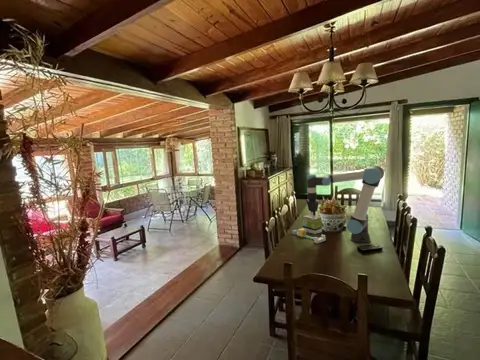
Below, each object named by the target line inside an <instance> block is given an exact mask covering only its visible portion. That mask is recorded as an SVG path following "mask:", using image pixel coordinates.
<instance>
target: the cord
mask: <svg viewBox="0 0 480 360" xmlns="http://www.w3.org/2000/svg"><path fill="white" fill-rule="evenodd" d="M296 236H298V235H297V233H296ZM305 237H306V239H309V238H310V239H309V240H312V239H313V240H312V241H314V237H315V236H310V235H307V234H306V235H304V234H303V237H302V238H305ZM322 242H324V241H323V240H321V242H320V243H322Z"/></svg>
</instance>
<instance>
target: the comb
mask: <svg viewBox="0 0 480 360" xmlns="http://www.w3.org/2000/svg"><path fill="white" fill-rule="evenodd" d="M313 237H314V240H313V241H314V243H315V244H320V243H322V242H321V240H323V242H325V241H326V239H327V237H326V235H325V234H321V235H320V237H317V236H313Z"/></svg>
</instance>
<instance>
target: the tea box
mask: <svg viewBox="0 0 480 360" xmlns="http://www.w3.org/2000/svg"><path fill="white" fill-rule="evenodd" d="M322 219H323V217H322V216H318V215H315V219H312V215H311V214H305V215H303V216H302V228H303V229H306V233H310V234H314V235H317V233H318V234H320V233H322V232H323V229H322V224H323V223H322Z"/></svg>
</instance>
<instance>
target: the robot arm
mask: <svg viewBox="0 0 480 360" xmlns="http://www.w3.org/2000/svg"><path fill="white" fill-rule="evenodd" d="M384 176H385V172H384V169H383V168H382V167H381V166H379V165H372V166H370V167H364V169H359V170H358V169H357V170H352V171H346V172H345V171H344V172H339V173H332V174H326V175H323V176H317V175H316V174H314V173H309V174H307V175H306V186H307V187H306V190H307V191H306V192H307V199H306V200H305V201H306V205H307V209H308V211H309V212H310V215H312V219H315V216H317V215H316V212H318V209H319V203H320V200H318V198H317V197H318V193H317V186H322V187H326V186H328V187H329V186H330V185H331V184H333V183H342V182H351V181H359V180H360V181H361V183H362V188H361V190H360V193H359V197H358V200H357V203H356V205H355V209H354V212H353V213H351V214H350V216H349V217H350V218H349V220H348V221H347V223H346V229H347V231H348V232H349V233H351V234H350V235H351V236H350V240H351V241H352V242H353V243H359V244H367V243H370V242H371V236H370V233H369V215H368V213H367V212H368V209H369V207H370V204H371V202H372V198H373V195H374V192H375V190H376V189H377V188H378V187H379V185H380V182H381V180H382V179H383V178H384Z"/></svg>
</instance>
